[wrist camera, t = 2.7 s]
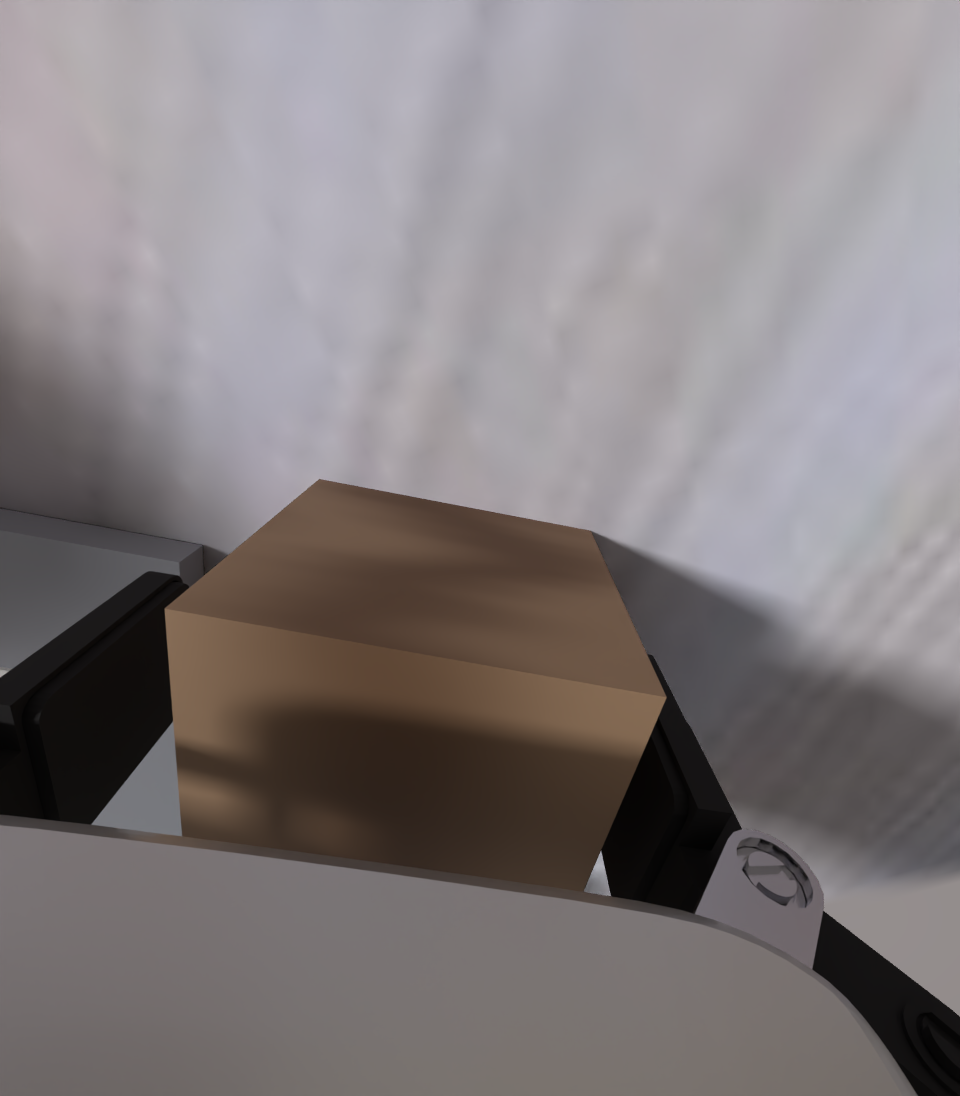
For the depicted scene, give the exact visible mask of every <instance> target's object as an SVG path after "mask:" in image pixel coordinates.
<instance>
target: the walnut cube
mask: <svg viewBox="0 0 960 1096" xmlns="http://www.w3.org/2000/svg"><path fill="white" fill-rule="evenodd" d="M165 621H166V634H167V647H168V660H169V673H170V686H171V699H172V712H173V725H174V738H175V751H176V764H177V777H178V790H179V803H180V816H181V829H182V836H183V837H191V838H198V839H206V840H214V841H221V842H229V843H237V844H244V845H252V846H259V847H267V848H274V849H282V850H289V851H296V852H304V853H311V854H319V855H326V856H334V857H341V858H348V859H355V860H363V861H370V862H377V863H385V864H392V865H399V866H407V867H414V868H421V869H428V870H435V871H442V872H449V873H456V874H463V875H470V876H477V877H485V878H492V879H499V880H506V881H513V882H520V883H527V884H534V885H541V886H548V887H555V888H561V889H567V890H573V891H580V892H583V891H584V889H585V886H586V884H587V882H588V879H589V877H590V875H591V872H592V870H593V868H594V865H595V863H596V861H597V858H598V856H599V854H600V851H601V849H602V847H603V844H604V842H605V840H606V837H607V835H608V833H609V830H610V828H611V826H612V823H613V821H614V819H615V817H616V814H617V812H618V810H619V807H620V805H621V803H622V800H623V798H624V796H625V793H626V791H627V789H628V786H629V784H630V782H631V779H632V777H633V775H634V772H635V770H636V768H637V765H638V763H639V761H640V758H641V756H642V754H643V751H644V749H645V747H646V744H647V742H648V740H649V737H650V735H651V733H652V730H653V728H654V726H655V723H656V721H657V719H658V716H659V714H660V712H661V709H662V707H663V705H664V703H665V700H666V698H667V697H666V695H665V693H664V690H663V688H662V686H661V684H660V682H659V679H658V677H657V675H656V673H655V671H654V669H653V666H652V664H651V662H650V660H649V658H648V655H647V653H646V651H645V649H644V647H643V644H642V642H641V640H640V638H639V636H638V633H637V631H636V629H635V627H634V625H633V623H632V620H631V618H630V616H629V614H628V612H627V609H626V607H625V605H624V603H623V601H622V598H621V596H620V594H619V592H618V590H617V587H616V585H615V583H614V581H613V579H612V577H611V574H610V572H609V570H608V568H607V566H606V563H605V561H604V559H603V557H602V555H601V552H600V550H599V548H598V546H597V544H596V542H595V539H594V537H593V535H592V533H591V531H589V530H584V529H578V528H573V527H568V526H563V525H557V524H552V523H547V522H542V521H536V520H531V519H526V518H521V517H515V516H510V515H505V514H500V513H494V512H489V511H484V510H479V509H473V508H468V507H463V506H458V505H452V504H447V503H442V502H437V501H431V500H426V499H421V498H416V497H410V496H405V495H400V494H395V493H389V492H384V491H379V490H374V489H368V488H363V487H358V486H353V485H347V484H342V483H337V482H332V481H326V480H321V479H319V480H318V481H316V482H315V483H314V484H313V485H312V486H310V487H309V488H308V489H307V490H306V491H304V492H303V493H302V494H301V495H300V496H298V497H297V498H296V499H295V500H294V501H293V502H291V503H290V504H289V505H288V506H287V507H285V508H284V509H283V510H282V511H281V512H279V513H278V514H277V515H276V516H275V517H273V518H272V519H271V520H270V521H269V522H267V523H266V524H265V525H264V526H263V527H261V528H260V529H259V530H258V531H257V532H255V533H254V534H253V535H252V536H251V537H250V538H248V539H247V540H246V541H245V542H244V543H242V544H241V545H240V546H239V547H238V548H236V549H235V550H234V551H233V552H232V553H230V554H229V555H228V556H227V557H226V558H224V559H223V560H222V561H221V562H220V563H218V564H217V565H216V566H215V567H214V568H212V569H211V570H210V571H209V572H208V573H206V574H205V575H204V576H203V577H202V578H201V579H199V580H198V581H197V582H196V583H195V584H193V585H192V586H191V587H190V588H189V589H187V590H186V591H185V592H184V593H183V594H181V595H180V596H179V597H178V598H177V599H175V600H174V601H173V602H172V603H171V604H169V605H168V606H167V607H166V608H165Z"/></svg>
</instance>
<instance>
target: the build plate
mask: <svg viewBox="0 0 960 1096" xmlns="http://www.w3.org/2000/svg"><path fill="white" fill-rule="evenodd" d="M148 571H155V572H161V573H167V574H173V575H178V576H180V577H181V579H182V581H183V583H185V584H187V585H188V586H189V588H190V587H191V586H192V585H193V584H195V583H196V582H197V581H198V580H199V579H201V578H202V577H203V576H204V568H203V545H198V544H193V543H187V542H182V541H176V540H171V539H166V538H160V537H155V536H149V535H144V534H138V533H133V532H127V531H122V530H116V529H111V528H105V527H100V526H94V525H89V524H83V523H78V522H72V521H67V520H61V519H56V518H50V517H45V516H40V515H34V514H29V513H23V512H18V511H12V510H7V509H1V508H0V677H2V676H3V675H4V674H6V673H7V672H8V671H10V670H11V669H13V668H14V667H15V666H17V665H18V664H20V663H21V662H22V661H24V660H25V659H26V658H28V657H29V656H31V655H32V654H33V653H35V652H36V651H38V650H39V649H40V648H42V647H43V646H44V645H46V644H47V643H49V642H50V641H51V640H53V639H54V638H56V637H57V636H58V635H60V634H61V633H62V632H64V631H65V630H67V629H68V628H69V627H71V626H72V625H74V624H75V623H76V622H78V621H79V620H80V619H82V618H83V617H85V616H86V615H87V614H89V613H90V612H92V611H93V610H94V609H96V608H97V607H98V606H100V605H101V604H103V603H104V602H105V601H107V600H108V599H109V598H111V597H112V596H114V595H115V594H116V593H118V592H119V591H121V590H122V589H123V588H125V587H126V586H127V585H129V584H130V583H132V582H133V581H134V580H136V579H137V578H139V577H140V576H141V575H143V574H144V573H146V572H148ZM91 825H98V826H106V827H114V828H121V829H129V830H137V831H144V832H152V833H160V834H167V835H175V836H182V829H181V816H180V803H179V790H178V777H177V764H176V751H175V738H174V725H173V722H172V723H171V725H170V726H169V727H168V729H167V730H166V731H165V732H164V734H163V735H162V736H161V737H160V739H159V740H158V741H157V742H156V744H155V745H154V746H153V747H152V749H151V750H150V751H149V752H148V754H147V755H146V756H145V758H144V759H143V760H142V761H141V763H140V764H139V765H138V766H137V768H136V769H135V770H134V771H133V773H132V774H131V775H130V776H129V778H128V779H127V780H126V781H125V783H124V784H123V785H122V787H121V788H120V789H119V790H118V792H117V793H116V794H115V795H114V797H113V798H112V799H111V800H110V802H109V803H108V804H107V805H106V807H105V808H104V809H103V810H102V812H101V813H100V814H99V815H98V817H97V818H96V819H95V821H94V822H93V823H92V824H91Z"/></svg>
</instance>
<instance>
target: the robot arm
mask: <svg viewBox="0 0 960 1096" xmlns="http://www.w3.org/2000/svg"><path fill="white" fill-rule="evenodd" d="M187 589H189V586H188V585H187V584H185V583H183V581H182V579H181V577H180V576H178V575H173V574H167V573H161V572H155V571H148V572H146V573H144V574H143V575H141V576H140V577H139V578H137V579H136V580H134V581H133V582H132V583H130V584H129V585H127V586H126V587H125V588H123V589H122V590H121V591H119V592H118V593H116V594H115V595H114V596H112V597H111V598H109V599H108V600H107V601H105V602H104V603H103V604H101V605H100V606H98V607H97V608H96V609H94V610H93V611H92V612H90V613H89V614H87V615H86V616H85V617H83V618H82V619H80V620H79V621H78V622H76V623H75V624H74V625H72V626H71V627H69V628H68V629H67V630H65V631H64V632H62V633H61V634H60V635H58V636H57V637H56V638H54V639H53V640H51V641H50V642H49V643H47V644H46V645H44V646H43V647H42V648H40V649H39V650H38V651H36V652H35V653H33V654H32V655H31V656H29V657H28V658H26V659H25V660H24V661H22V662H21V663H20V664H18V665H17V666H15V667H14V668H13V669H11V670H10V671H8V672H7V673H6V674H4V675H3V676H2V677H0V1096H960V1017H959V1016H958V1015H957V1014H956V1013H955V1012H953V1010H951V1009H950V1008H949V1007H947V1006H946V1005H945V1004H943V1003H942V1002H941V1001H940V1000H938V999H937V998H935V997H934V996H933V995H932V994H930V993H929V992H928V991H927V990H925V989H924V988H923V987H921V986H920V985H919V984H918V983H916V982H915V981H914V980H912V979H911V978H910V977H908V976H907V975H906V974H905V973H903V972H902V971H901V970H899V969H898V968H897V967H896V966H894V965H893V964H892V963H890V962H889V961H888V960H886V959H885V958H883V956H881V955H880V954H879V953H877V952H876V951H875V950H873V949H872V948H871V947H869V946H868V945H867V944H866V943H864V942H863V941H862V940H860V939H859V938H858V937H857V936H855V935H854V934H852V933H851V932H850V931H849V930H848V929H846V928H845V927H844V926H842V925H841V924H840V923H838V922H837V921H836V920H835V919H833V918H832V917H831V916H829V915H828V914H827V913H825V912H824V911H823V909H824V894H823V891H822V889H821V886H820V884H819V881H818V879H817V878H816V876H815V875H814V873H813V872H812V870H811V869H810V867H809V866H808V865H807V864H806V863H805V862H804V861H803V859H802V858H801V857H800V856H799V855H798V854H797V853H796V852H794V851H793V850H792V849H791V848H789V847H788V846H787V845H786V844H784V843H783V842H781V841H779V840H778V839H776V838H774V837H772V836H771V835H769V834H766V833H763V832H760V831H757V830H750V829H742V828H741V826H740V824H739V822H738V820H737V818H736V816H735V814H734V812H733V810H732V808H731V806H730V804H729V802H728V800H727V798H726V796H725V794H724V792H723V790H722V789H721V787H720V785H719V783H718V781H717V779H716V777H715V775H714V773H713V771H712V769H711V767H710V765H709V763H708V761H707V759H706V757H705V755H704V753H703V751H702V749H701V747H700V745H699V743H698V741H697V739H696V737H695V735H694V733H693V731H692V729H691V728H690V726H689V725H688V723H687V722H686V720H685V718H684V716H683V714H682V712H681V710H680V708H679V706H678V704H677V702H676V700H675V698H674V696H673V694H672V692H671V690H670V689H669V687H668V685H667V683H666V681H665V679H664V677H663V675H662V673H661V671H660V669H659V667H658V665H657V663H656V661H655V659H654V657H653V656H652V655H648V654H647V655H648V658H649V660H650V662H651V664H652V666H653V669H654V671H655V673H656V675H657V677H658V679H659V682H660V684H661V686H662V688H663V690H664V693H665V695H666V697H667V698H666V700H665V703H664V705H663V707H662V709H661V712H660V714H659V716H658V719H657V721H656V723H655V726H654V728H653V730H652V733H651V735H650V737H649V740H648V742H647V744H646V747H645V749H644V751H643V754H642V756H641V758H640V761H639V763H638V765H637V768H636V770H635V772H634V775H633V777H632V779H631V782H630V784H629V786H628V789H627V791H626V793H625V796H624V798H623V800H622V803H621V805H620V807H619V810H618V812H617V814H616V817H615V819H614V821H613V823H612V826H611V828H610V830H609V833H608V835H607V837H606V840H605V842H604V844H603V847H602V849H601V852H602V856H603V861H604V865H605V870H606V875H607V879H608V884H609V888H610V893H611V896H605V895H598V894H592V893H586V892H580V891H573V890H567V889H561V888H555V887H548V886H541V885H534V884H527V883H520V882H513V881H506V880H499V879H492V878H485V877H477V876H470V875H463V874H456V873H449V872H442V871H435V870H428V869H421V868H414V867H407V866H399V865H392V864H385V863H377V862H370V861H363V860H355V859H348V858H341V857H334V856H326V855H319V854H311V853H304V852H296V851H289V850H282V849H274V848H267V847H259V846H252V845H244V844H237V843H229V842H221V841H214V840H206V839H198V838H191V837H183V836H175V835H167V834H160V833H152V832H144V831H137V830H129V829H121V828H114V827H106V826H98V825H91V824H92V823H93V822H94V821H95V819H96V818H97V817H98V815H99V814H100V813H101V812H102V810H103V809H104V808H105V807H106V805H107V804H108V803H109V802H110V800H111V799H112V798H113V797H114V795H115V794H116V793H117V792H118V790H119V789H120V788H121V787H122V785H123V784H124V783H125V781H126V780H127V779H128V778H129V776H130V775H131V774H132V773H133V771H134V770H135V769H136V768H137V766H138V765H139V764H140V763H141V761H142V760H143V759H144V758H145V756H146V755H147V754H148V752H149V751H150V750H151V749H152V747H153V746H154V745H155V744H156V742H157V741H158V740H159V739H160V737H161V736H162V735H163V734H164V732H165V731H166V730H167V729H168V727H169V726H170V725H171V723H172V722H173V712H172V699H171V686H170V673H169V660H168V647H167V634H166V621H165V608H166V607H167V606H168V605H169V604H171V603H172V602H173V601H174V600H175V599H177V598H178V597H179V596H180V595H181V594H183V593H184V592H185V591H186V590H187Z"/></svg>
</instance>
